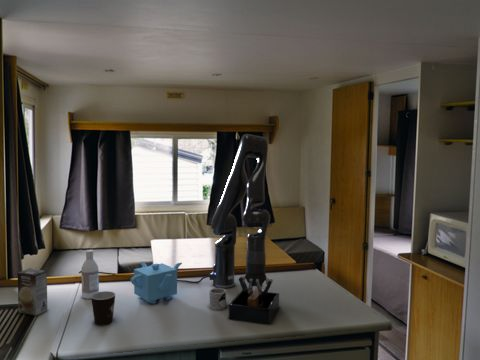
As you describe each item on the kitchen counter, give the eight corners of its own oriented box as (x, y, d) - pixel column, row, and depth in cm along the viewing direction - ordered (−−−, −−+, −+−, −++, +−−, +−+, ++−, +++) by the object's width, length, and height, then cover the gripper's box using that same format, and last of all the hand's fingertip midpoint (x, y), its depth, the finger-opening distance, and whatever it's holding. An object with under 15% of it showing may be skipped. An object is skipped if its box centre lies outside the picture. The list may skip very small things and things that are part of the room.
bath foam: (81, 294, 188) (80, 249, 186) (98, 292, 190) (97, 248, 188) (82, 300, 181) (81, 253, 179) (99, 297, 184) (98, 251, 182)
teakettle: (128, 305, 176) (127, 270, 175) (141, 289, 195) (140, 257, 193) (173, 306, 175) (173, 271, 174) (182, 290, 194) (182, 258, 192)
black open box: (229, 319, 164) (229, 304, 163) (242, 302, 180) (242, 289, 180) (269, 324, 159) (269, 309, 158) (278, 307, 176) (279, 293, 175)
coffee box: (17, 312, 167) (16, 272, 166) (30, 306, 174) (29, 267, 172) (36, 316, 164) (34, 275, 163) (48, 309, 171) (47, 270, 169)
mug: (221, 310, 171) (222, 294, 171) (206, 308, 174) (206, 292, 173) (231, 302, 181) (231, 286, 180) (216, 299, 183) (216, 284, 182)
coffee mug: (102, 328, 154) (101, 301, 154) (86, 322, 159) (85, 296, 158) (126, 317, 164) (126, 291, 163) (111, 312, 169) (110, 287, 168)
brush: (245, 314, 164) (245, 298, 164) (253, 303, 176) (253, 288, 175) (257, 316, 163) (257, 299, 162) (265, 305, 174) (265, 289, 174)
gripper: (275, 259, 169) (274, 302, 171) (241, 256, 173) (241, 298, 175) (271, 264, 162) (270, 309, 164) (235, 261, 166) (235, 304, 168)
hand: (255, 303), depth 169 cm, fingers closed on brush, 3 cm apart
